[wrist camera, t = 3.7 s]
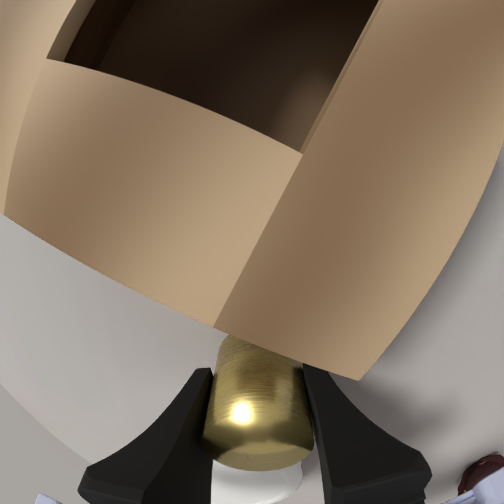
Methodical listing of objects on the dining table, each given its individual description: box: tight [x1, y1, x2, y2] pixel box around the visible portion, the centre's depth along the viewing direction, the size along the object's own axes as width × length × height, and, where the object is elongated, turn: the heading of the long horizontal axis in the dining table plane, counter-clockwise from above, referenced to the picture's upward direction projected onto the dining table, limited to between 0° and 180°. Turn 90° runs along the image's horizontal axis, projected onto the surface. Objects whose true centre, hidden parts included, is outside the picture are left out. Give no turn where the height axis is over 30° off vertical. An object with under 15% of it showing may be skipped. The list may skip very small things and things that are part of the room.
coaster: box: [211, 460, 303, 504], centre depth 16 cm, size 10×10×4 cm
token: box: [202, 335, 314, 471], centre depth 11 cm, size 4×4×5 cm
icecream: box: [458, 455, 504, 496], centre depth 18 cm, size 7×7×15 cm
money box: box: [0, 0, 504, 381], centre depth 6 cm, size 12×12×7 cm
